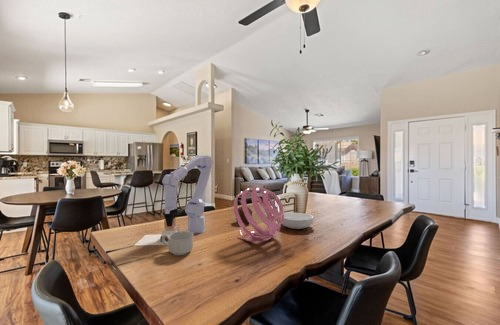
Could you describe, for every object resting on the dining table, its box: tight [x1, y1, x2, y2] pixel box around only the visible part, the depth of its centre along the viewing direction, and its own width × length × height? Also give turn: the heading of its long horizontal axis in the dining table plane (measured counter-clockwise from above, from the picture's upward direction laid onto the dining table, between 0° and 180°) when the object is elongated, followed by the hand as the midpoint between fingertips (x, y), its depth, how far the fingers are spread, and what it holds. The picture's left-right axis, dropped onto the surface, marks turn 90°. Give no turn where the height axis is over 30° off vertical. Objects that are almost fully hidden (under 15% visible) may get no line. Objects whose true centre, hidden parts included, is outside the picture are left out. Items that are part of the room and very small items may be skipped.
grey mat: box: [133, 233, 168, 247], centre depth 121 cm, size 20×16×1 cm
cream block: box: [161, 226, 180, 236], centre depth 121 cm, size 7×7×2 cm
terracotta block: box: [163, 217, 177, 230], centre depth 121 cm, size 4×4×4 cm
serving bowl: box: [280, 212, 314, 230], centre depth 145 cm, size 21×21×7 cm
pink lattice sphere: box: [233, 186, 285, 243], centre depth 123 cm, size 28×28×27 cm
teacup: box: [162, 230, 194, 257], centre depth 105 cm, size 14×11×8 cm
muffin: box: [235, 206, 253, 225], centre depth 155 cm, size 12×11×10 cm
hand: (170, 224), depth 121 cm, fingers closed on terracotta block, 4 cm apart
